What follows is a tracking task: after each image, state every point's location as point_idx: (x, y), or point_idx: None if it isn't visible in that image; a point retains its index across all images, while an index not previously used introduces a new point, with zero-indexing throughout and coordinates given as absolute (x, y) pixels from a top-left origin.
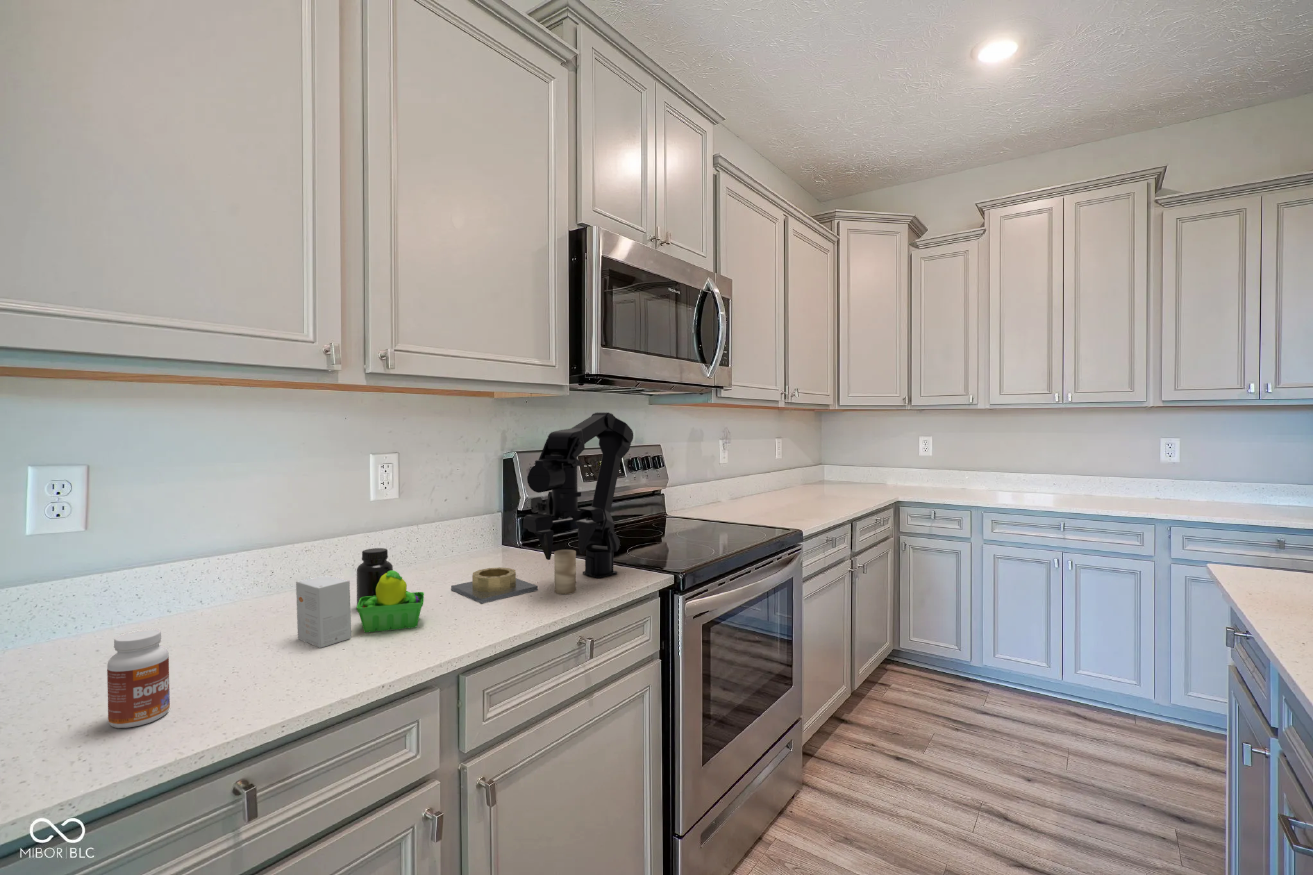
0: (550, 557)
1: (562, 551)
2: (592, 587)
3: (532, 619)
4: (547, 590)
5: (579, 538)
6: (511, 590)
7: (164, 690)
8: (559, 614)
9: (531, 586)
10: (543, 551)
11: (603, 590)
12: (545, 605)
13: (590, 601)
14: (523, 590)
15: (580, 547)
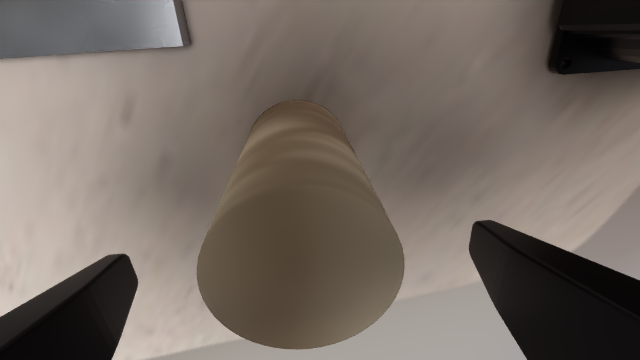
0: (128, 305)
1: (290, 257)
2: (422, 173)
3: None
4: (235, 81)
5: (586, 307)
6: (6, 27)
7: None
8: (155, 343)
9: (144, 31)
10: (32, 300)
11: (421, 230)
12: (143, 256)
13: None
14: (88, 51)
15: (496, 263)
